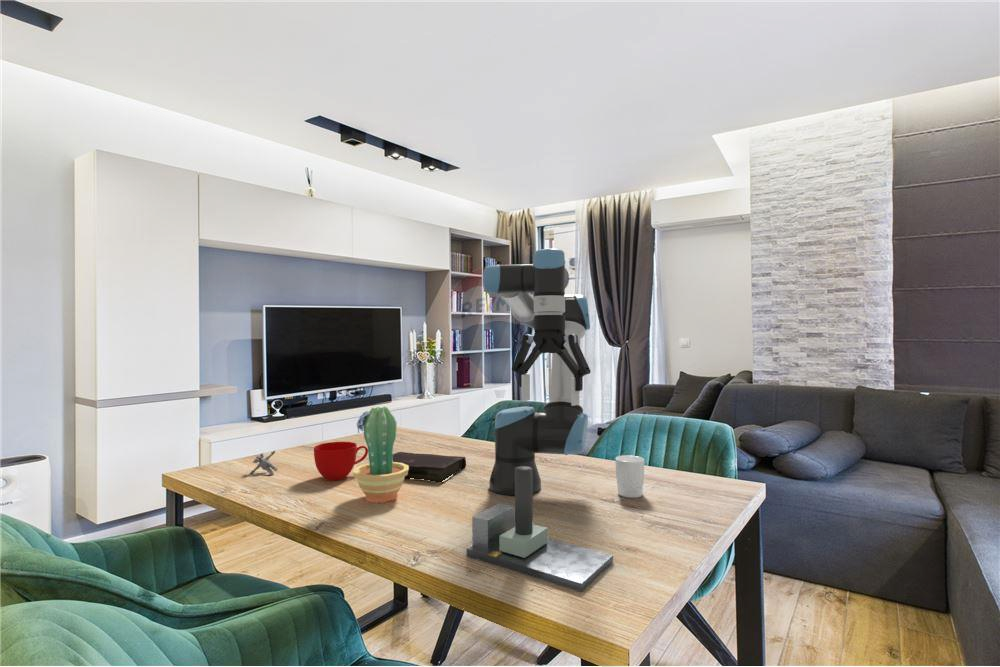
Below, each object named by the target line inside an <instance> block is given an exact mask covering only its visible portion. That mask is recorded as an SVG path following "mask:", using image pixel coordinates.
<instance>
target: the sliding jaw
mask: <svg viewBox="0 0 1000 667" xmlns="http://www.w3.org/2000/svg"><path fill="white" fill-rule="evenodd" d="M533 499H534V498H533V493H532V468H531V467H526V466H521V467H516V468H515V495H514V507H515V527H514V528H512V529H510V530H509V531H507V532H505V533H503V534H502V535H500V536H499V550H500V551H503V552H506V553H510V554H513V555H516V556H520V557H523V558H525V557H527V556H528V555H530V554H531V553H533V552H534V551H536V550H537V549H538V548H540V547H541V546H543V545H544V544H546V543H547V542H548V538H549V537H548V531H549V530H548V527H545V526H541V525H537V524H533V523H534V520H533V518H534V513H533V511H534V510H533V508H534V507H533Z"/></svg>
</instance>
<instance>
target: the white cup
mask: <svg viewBox="0 0 1000 667" xmlns="http://www.w3.org/2000/svg"><path fill="white" fill-rule="evenodd" d="M615 474H616V475H615V476H616V477H615V478H616V485H617V486H616V487H617V495H619V496H621V497H624V498H631V499H632V498H634V499H635V498H640V497H643V492H644V491H643V490H644V489H643V488H644V476H645V458H643V457H642V456H638V455H630V454H627V455H624V454H623V455H618V456H616V457H615Z"/></svg>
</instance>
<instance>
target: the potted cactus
mask: <svg viewBox="0 0 1000 667" xmlns="http://www.w3.org/2000/svg"><path fill="white" fill-rule="evenodd" d="M356 428H357V434H360V431H361V432H363V438H364V440H365V443H366V447H367V449H368V454H367V456H368V462H369V463H363V464H361V465H358V466H356V467H353V470H352V474H353V478H355V479H356V481H357V484H358V485H359V488H360V490H361V491H362V492H363V494H364V495H365V499H364V500H365V501H367V502H368V501H369V503H375V502H376V503H378V502H380V503H388V502H392V501H394V500H396V499H397V497H399V495H398V492H399V491H400V490H401V488H402V486H403V484H404V481H405V479H404V478H405V476H406V475H408V470H409V466H408V465H406V464H403V463H398V462H393V454H394V444H395V442H396V441H395V440H396V437H397V420H396V418H395V416H394V415H393V413H392V412H391V410H390V409H389V408H388V407H387V406H383V407H381V406H376V407H372V408H371V409H370V410H367V411H364V412H362V414H361V415H360V416H359V418H358V420H357V422H356ZM395 498H396V499H395ZM391 500H392V501H391ZM387 501H388V502H387ZM376 503H375V504H376ZM378 504H379V503H378Z"/></svg>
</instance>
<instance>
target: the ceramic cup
mask: <svg viewBox="0 0 1000 667" xmlns="http://www.w3.org/2000/svg"><path fill="white" fill-rule="evenodd" d="M362 449H364V450H365V452H364V454H363V456H362V457H361V458H359V459H358V460H357V453H358V451H360V450H362ZM367 456H368V446H367V445H366V446H365V445H359V446H358V445H357V443H355V442H352V441H332V442H324V443H320V444H317V445H315V446H314V447H313V458H314V464H315V467H316V469H317V472H318V473H319V474H320V475H321V476H322V478H324V480H326V481H340V480H341V481H342V480H344V479H346V478H347V477H348V475H349V474H350V473H351V472H352V471H353V470H354V468H355V467H354V466H355V465H357V464H359V463H361V462H362V461H364V460H365V459H366V458H367Z"/></svg>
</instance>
